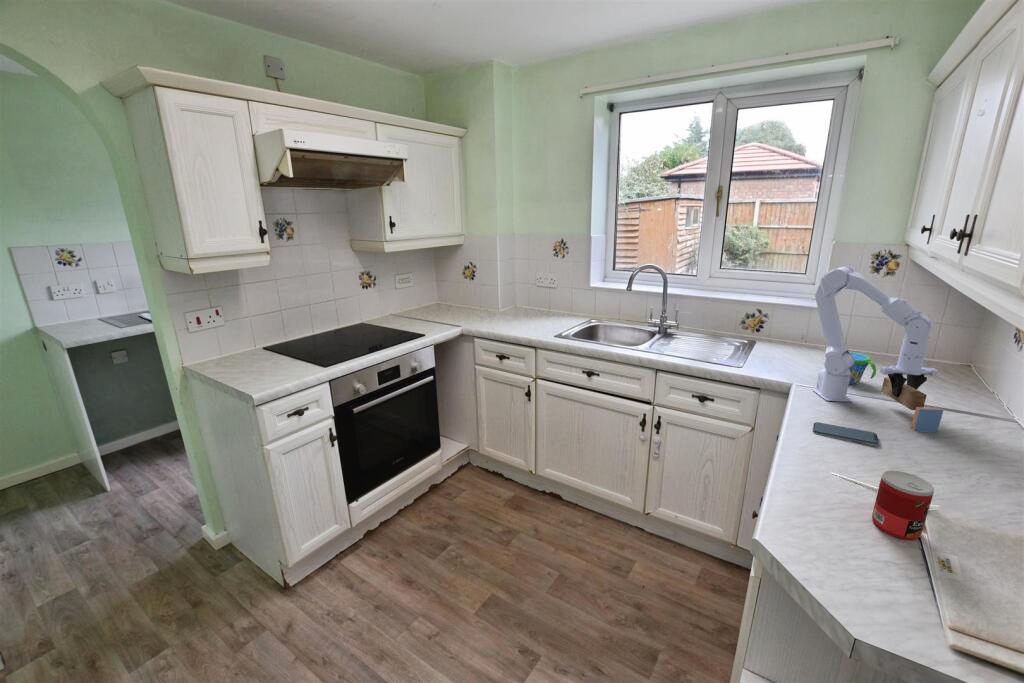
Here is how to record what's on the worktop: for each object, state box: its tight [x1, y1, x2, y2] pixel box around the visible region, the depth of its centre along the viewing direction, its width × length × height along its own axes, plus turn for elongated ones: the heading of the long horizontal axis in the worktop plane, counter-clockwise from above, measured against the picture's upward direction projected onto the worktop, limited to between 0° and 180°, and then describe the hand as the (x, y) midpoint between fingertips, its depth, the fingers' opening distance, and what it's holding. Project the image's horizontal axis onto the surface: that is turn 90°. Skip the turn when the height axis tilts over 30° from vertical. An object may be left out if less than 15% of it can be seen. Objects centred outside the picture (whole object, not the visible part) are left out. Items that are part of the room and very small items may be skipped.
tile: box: [910, 406, 944, 433], centre depth 131 cm, size 2×6×7 cm, turn 83°
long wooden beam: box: [880, 377, 927, 411], centre depth 141 cm, size 14×3×5 cm, turn 173°
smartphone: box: [812, 421, 879, 447], centre depth 130 cm, size 8×2×15 cm
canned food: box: [871, 470, 935, 541], centre depth 91 cm, size 8×8×11 cm
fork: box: [831, 472, 942, 512], centre depth 104 cm, size 3×20×2 cm, turn 38°
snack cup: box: [849, 351, 877, 385], centre depth 168 cm, size 16×10×10 cm
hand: (901, 396), depth 141 cm, fingers closed on long wooden beam, 3 cm apart
